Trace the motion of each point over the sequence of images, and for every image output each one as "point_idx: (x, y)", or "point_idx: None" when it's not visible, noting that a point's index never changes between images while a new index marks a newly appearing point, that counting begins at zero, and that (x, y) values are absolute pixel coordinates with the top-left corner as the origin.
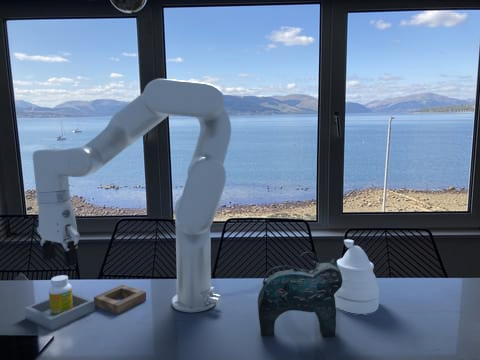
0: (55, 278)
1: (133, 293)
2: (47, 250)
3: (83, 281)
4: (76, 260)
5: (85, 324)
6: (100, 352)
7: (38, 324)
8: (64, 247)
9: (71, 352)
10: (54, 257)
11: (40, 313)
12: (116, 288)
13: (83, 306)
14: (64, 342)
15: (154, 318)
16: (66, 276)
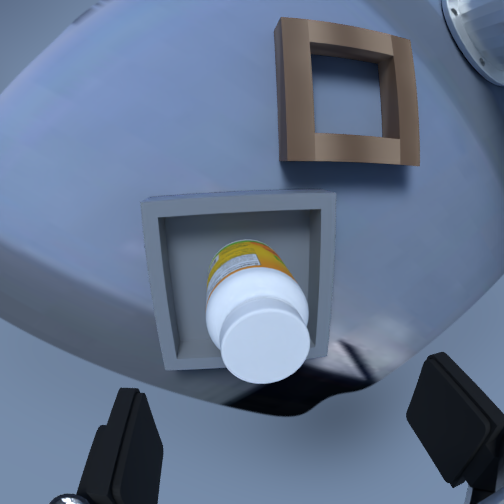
0: (254, 365)
1: (373, 54)
2: (148, 493)
3: (39, 71)
4: (448, 365)
5: (366, 260)
6: (467, 302)
7: None
8: (471, 500)
9: (423, 339)
10: (145, 398)
11: None
12: (294, 54)
13: (333, 242)
14: (386, 335)
15: (478, 136)
16: (279, 317)
